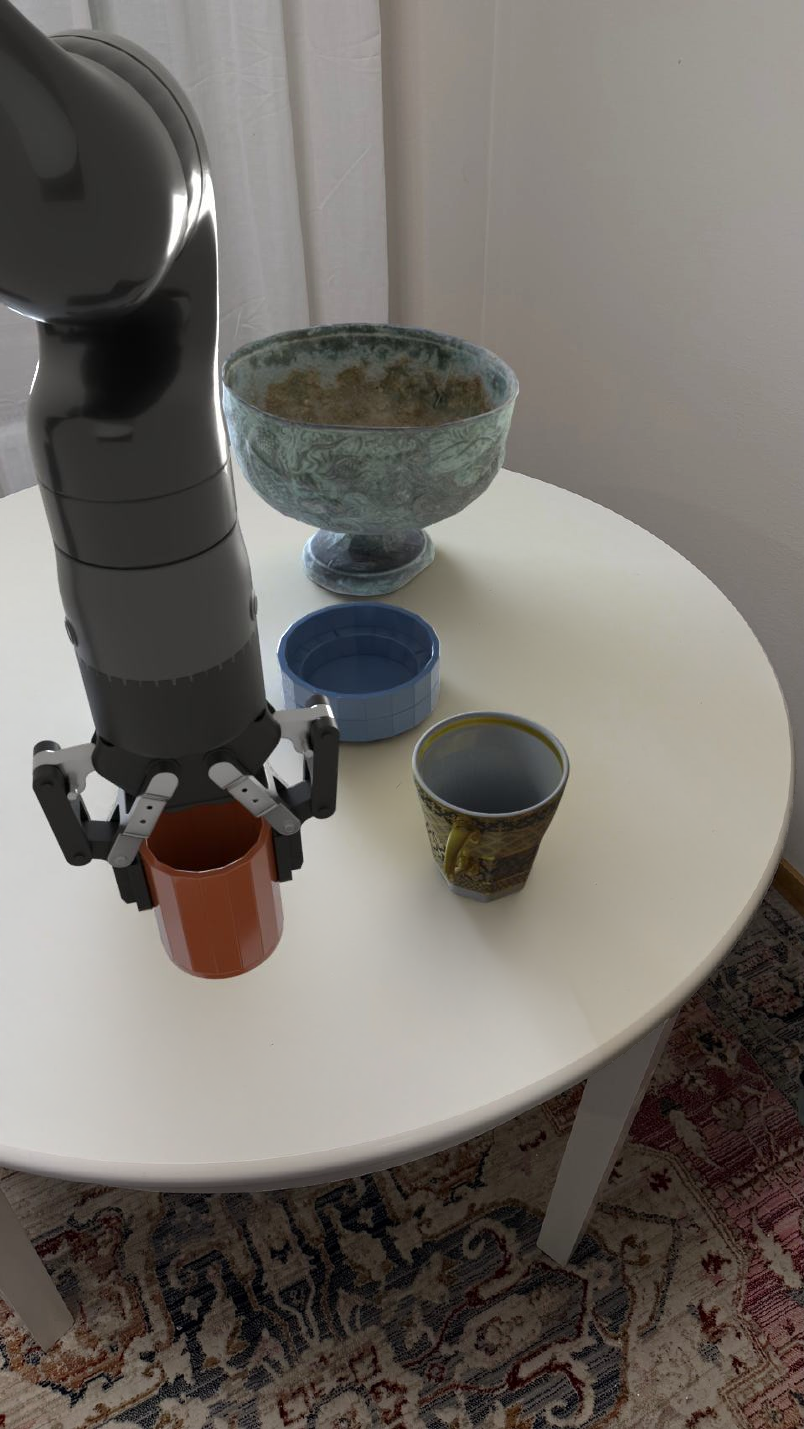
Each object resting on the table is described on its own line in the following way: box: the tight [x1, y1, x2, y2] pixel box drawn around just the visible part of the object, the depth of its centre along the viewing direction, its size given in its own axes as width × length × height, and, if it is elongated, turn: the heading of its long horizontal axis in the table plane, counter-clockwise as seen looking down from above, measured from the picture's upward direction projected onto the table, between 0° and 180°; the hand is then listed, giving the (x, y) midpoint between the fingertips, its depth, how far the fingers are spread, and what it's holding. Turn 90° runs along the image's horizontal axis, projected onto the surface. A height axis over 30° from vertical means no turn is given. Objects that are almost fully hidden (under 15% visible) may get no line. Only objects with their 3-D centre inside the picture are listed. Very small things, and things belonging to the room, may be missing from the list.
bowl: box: [276, 601, 441, 742], centre depth 83 cm, size 13×13×5 cm
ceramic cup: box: [411, 710, 571, 903], centre depth 66 cm, size 13×10×10 cm
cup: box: [138, 797, 285, 980], centre depth 52 cm, size 6×6×8 cm
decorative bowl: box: [221, 322, 520, 597], centre depth 95 cm, size 26×26×20 cm
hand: (214, 883), depth 52 cm, fingers closed on cup, 6 cm apart
